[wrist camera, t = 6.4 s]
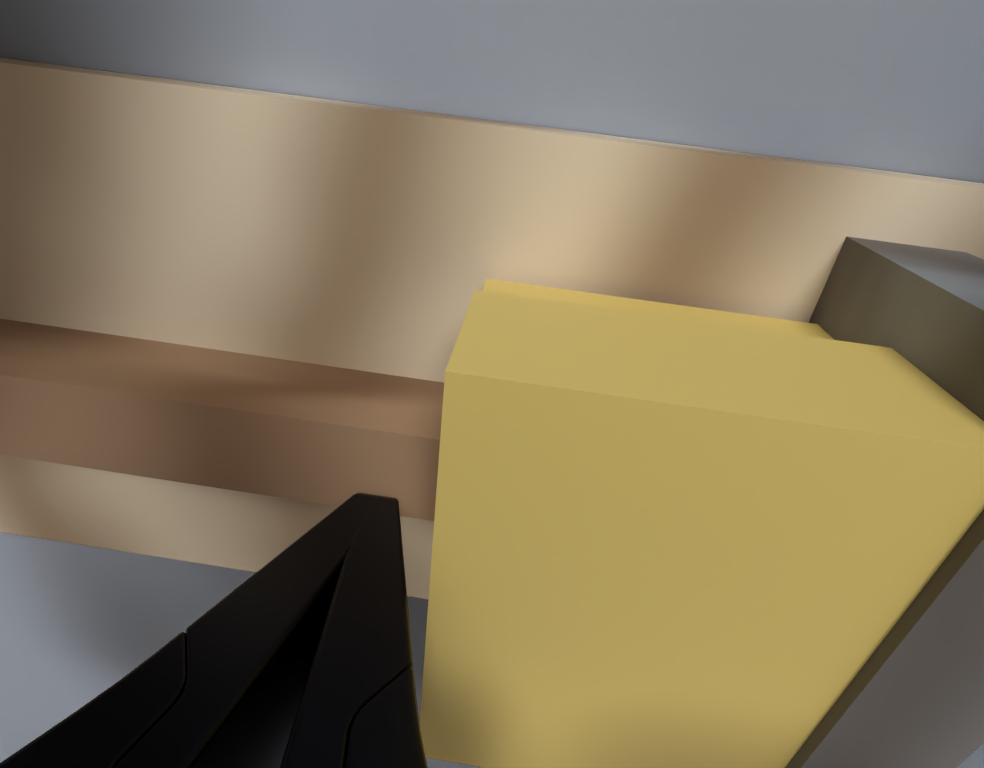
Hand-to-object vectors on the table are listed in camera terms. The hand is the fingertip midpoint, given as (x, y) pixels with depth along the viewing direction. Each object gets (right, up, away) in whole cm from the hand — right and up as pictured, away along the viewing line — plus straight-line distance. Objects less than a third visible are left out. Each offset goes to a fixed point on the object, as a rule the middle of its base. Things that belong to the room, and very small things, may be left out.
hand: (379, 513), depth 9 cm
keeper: (+4, +1, +2) cm, 5 cm away
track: (-1, +2, +3) cm, 4 cm away
